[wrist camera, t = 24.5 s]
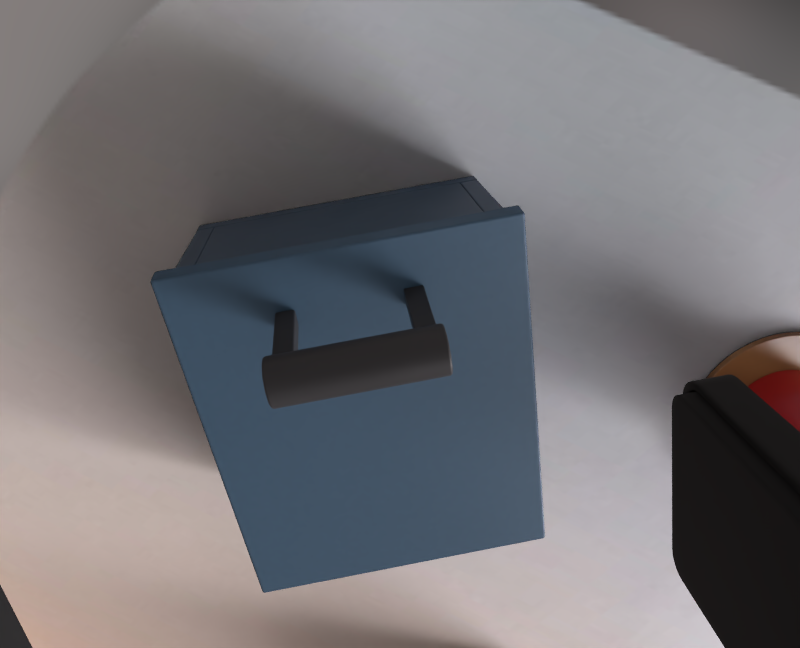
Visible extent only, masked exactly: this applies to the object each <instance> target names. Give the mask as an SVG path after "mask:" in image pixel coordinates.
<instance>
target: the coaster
mask: <svg viewBox="0 0 800 648" xmlns="http://www.w3.org/2000/svg"><path fill="white" fill-rule="evenodd" d="M783 370H800V332H788V333H781V334H775V335H771V336H768V337H765V338H761V339H759V340H757V341H754V342H752V343H750V344H748V345H746V346H744V347H742V348H740V349H739V350H737V351H736V352H734V353H733V354H731V355H730V356H728V357H727V358H726V359H725V360H723V361H722V362H721V363H720V364H719V365H718V366H717V367H716V368H715V369H714V370H713V371H712V372H711V373H710V374H709V375H708V377H707V378H712V377H717V376H722V375H734V376H735V377H737V378H738V379H740V380H741V381H742V382H743V383H744V384H745V385H746V386H749V385H750V384H752V383H753V382H755V381H756V380H758V379H760V378H762V377H763V376H766V375H768V374H771V373H774V372H778V371H783ZM707 378H706V379H707Z"/></svg>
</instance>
